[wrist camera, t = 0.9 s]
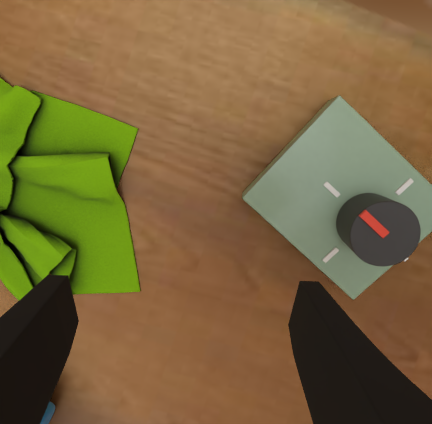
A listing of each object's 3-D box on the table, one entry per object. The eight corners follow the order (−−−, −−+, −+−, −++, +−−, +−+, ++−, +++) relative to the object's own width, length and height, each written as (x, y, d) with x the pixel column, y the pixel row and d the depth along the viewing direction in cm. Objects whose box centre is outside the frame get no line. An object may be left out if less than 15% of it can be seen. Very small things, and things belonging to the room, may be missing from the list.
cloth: (-28, 40, 28) (-54, 31, 25) (204, 164, 28) (201, 166, 26) (-90, 245, 32) (-116, 254, 30) (111, 349, 33) (100, 365, 30)
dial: (409, 220, 25) (438, 234, 21) (364, 261, 25) (384, 281, 22) (367, 180, 24) (389, 187, 20) (323, 223, 25) (336, 237, 21)
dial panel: (437, 204, 27) (461, 212, 24) (345, 286, 29) (356, 303, 26) (329, 100, 26) (340, 94, 23) (242, 192, 28) (241, 198, 25)
